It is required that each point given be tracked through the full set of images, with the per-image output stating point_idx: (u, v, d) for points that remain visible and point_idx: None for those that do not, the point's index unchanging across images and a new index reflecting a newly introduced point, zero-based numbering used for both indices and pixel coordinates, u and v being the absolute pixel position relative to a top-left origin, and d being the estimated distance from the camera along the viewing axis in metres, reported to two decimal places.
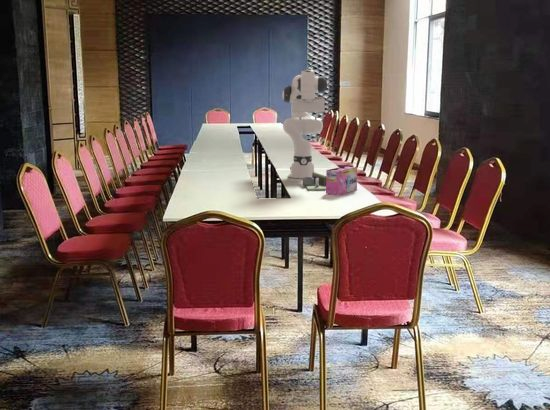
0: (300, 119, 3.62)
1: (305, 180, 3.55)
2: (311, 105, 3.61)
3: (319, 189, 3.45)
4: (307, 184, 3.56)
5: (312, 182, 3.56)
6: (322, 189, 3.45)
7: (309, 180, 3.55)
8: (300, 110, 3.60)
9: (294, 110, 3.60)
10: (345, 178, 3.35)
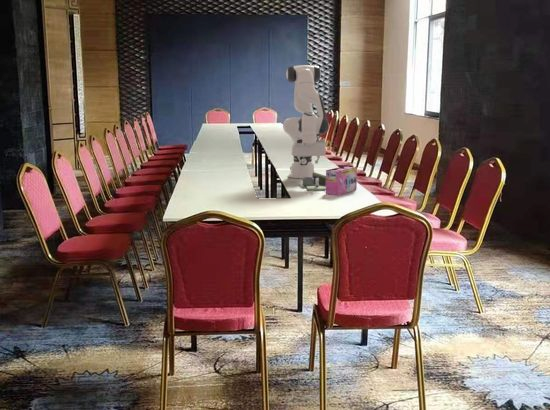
0: (300, 163, 3.55)
1: (305, 180, 3.55)
2: (312, 149, 3.53)
3: (319, 189, 3.45)
4: (307, 184, 3.56)
5: (312, 182, 3.56)
6: (322, 189, 3.45)
7: (309, 180, 3.55)
8: (301, 154, 3.53)
9: (294, 154, 3.52)
10: (345, 178, 3.35)
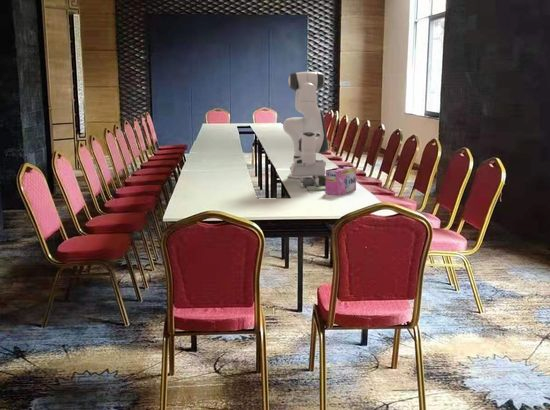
0: None
1: (305, 180, 3.55)
2: (312, 169, 3.55)
3: (319, 189, 3.45)
4: (307, 184, 3.56)
5: (312, 182, 3.56)
6: (322, 189, 3.45)
7: (309, 180, 3.55)
8: (300, 174, 3.55)
9: (294, 174, 3.55)
10: (344, 178, 3.35)
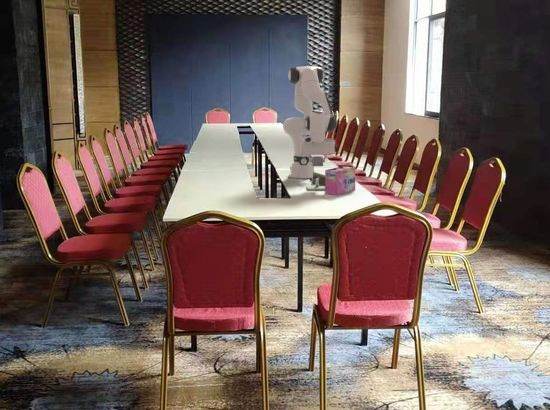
0: None
1: (314, 159, 3.44)
2: (321, 147, 3.44)
3: (319, 189, 3.45)
4: (316, 163, 3.44)
5: (321, 161, 3.45)
6: (322, 189, 3.45)
7: (318, 159, 3.44)
8: (309, 153, 3.44)
9: (303, 153, 3.44)
10: (344, 178, 3.35)
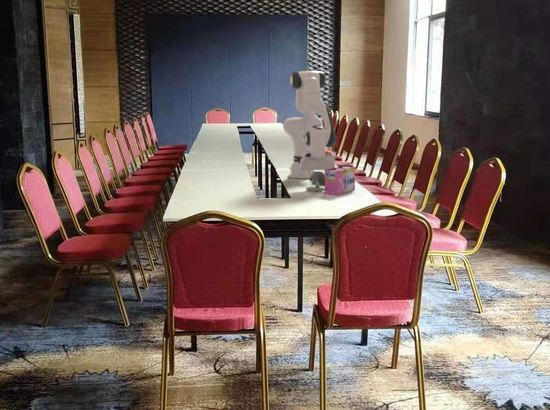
0: (311, 177, 3.48)
1: (314, 174, 3.46)
2: (321, 163, 3.46)
3: (319, 189, 3.45)
4: (316, 178, 3.46)
5: (321, 176, 3.46)
6: (322, 189, 3.45)
7: (318, 174, 3.46)
8: (309, 168, 3.46)
9: (303, 168, 3.46)
10: (344, 178, 3.35)
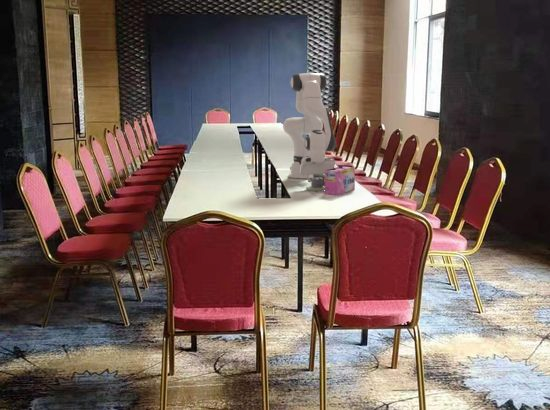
0: (309, 181, 3.49)
1: (314, 180, 3.47)
2: (321, 167, 3.47)
3: (319, 189, 3.45)
4: (316, 184, 3.47)
5: (321, 182, 3.47)
6: (322, 189, 3.45)
7: (318, 180, 3.47)
8: (309, 173, 3.47)
9: (303, 173, 3.46)
10: (344, 178, 3.35)
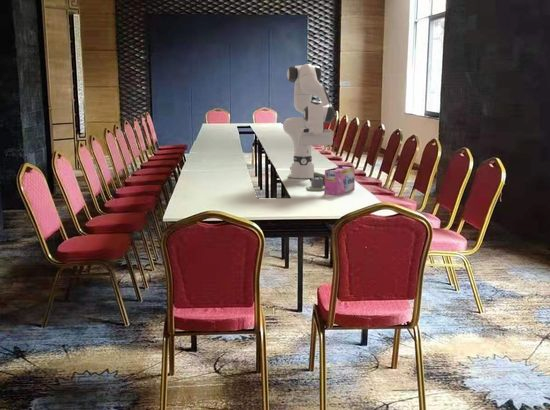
0: (307, 152, 3.47)
1: (314, 180, 3.47)
2: (319, 138, 3.45)
3: (319, 189, 3.45)
4: (316, 184, 3.47)
5: (321, 182, 3.47)
6: (322, 189, 3.45)
7: (318, 180, 3.47)
8: (307, 144, 3.45)
9: (301, 144, 3.44)
10: (343, 178, 3.35)
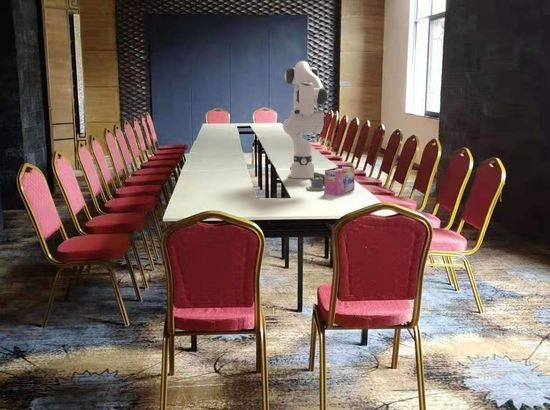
0: (298, 134, 3.49)
1: (314, 180, 3.47)
2: (310, 120, 3.46)
3: (319, 189, 3.45)
4: (316, 184, 3.47)
5: (321, 182, 3.47)
6: (322, 189, 3.45)
7: (318, 180, 3.47)
8: (298, 125, 3.46)
9: (292, 125, 3.46)
10: (343, 178, 3.35)
